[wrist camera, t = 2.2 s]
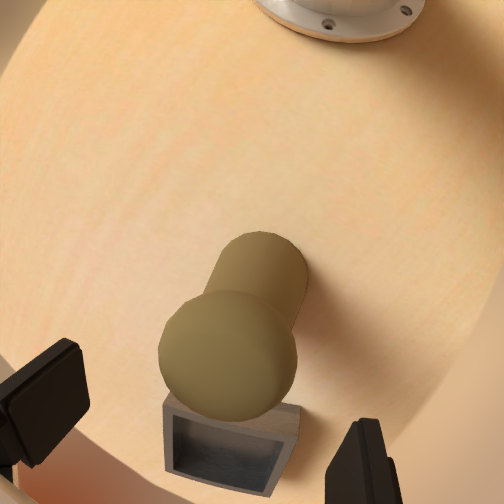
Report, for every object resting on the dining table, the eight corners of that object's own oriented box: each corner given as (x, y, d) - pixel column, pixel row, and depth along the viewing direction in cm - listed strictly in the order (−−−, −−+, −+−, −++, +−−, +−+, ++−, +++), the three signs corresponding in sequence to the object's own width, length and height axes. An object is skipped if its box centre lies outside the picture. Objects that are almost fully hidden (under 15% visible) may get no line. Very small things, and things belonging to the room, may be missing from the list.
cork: (228, 219, 19) (141, 276, 9) (321, 248, 19) (339, 341, 8) (206, 303, 21) (130, 408, 11) (291, 330, 21) (274, 459, 10)
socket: (178, 377, 23) (162, 403, 20) (300, 406, 22) (298, 437, 19) (177, 446, 26) (165, 471, 23) (274, 470, 25) (269, 497, 22)
